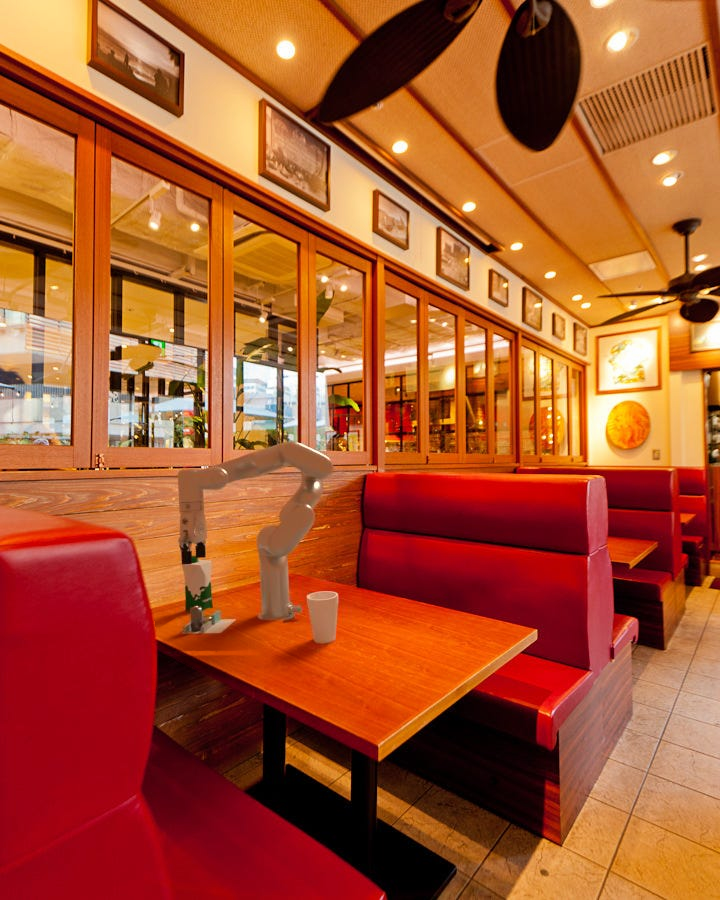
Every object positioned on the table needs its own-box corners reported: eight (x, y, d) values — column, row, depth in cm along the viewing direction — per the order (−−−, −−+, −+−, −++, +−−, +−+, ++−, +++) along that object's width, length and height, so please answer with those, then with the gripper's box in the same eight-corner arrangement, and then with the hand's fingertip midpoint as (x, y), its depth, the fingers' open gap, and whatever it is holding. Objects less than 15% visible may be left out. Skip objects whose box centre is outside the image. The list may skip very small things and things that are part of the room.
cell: (204, 627, 160) (203, 604, 160) (199, 631, 156) (198, 608, 156) (194, 627, 160) (193, 604, 160) (188, 631, 157) (187, 608, 157)
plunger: (215, 617, 167) (215, 615, 167) (210, 621, 163) (210, 619, 163) (204, 617, 168) (203, 615, 168) (198, 621, 164) (198, 619, 164)
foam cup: (346, 636, 149) (344, 593, 149) (329, 647, 141) (326, 601, 141) (320, 632, 154) (318, 590, 154) (302, 642, 146) (300, 598, 146)
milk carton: (196, 606, 189) (194, 554, 189) (216, 607, 186) (214, 554, 186) (181, 613, 180) (178, 559, 181) (202, 615, 178) (199, 559, 178)
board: (236, 622, 167) (235, 610, 167) (220, 636, 154) (220, 623, 154) (199, 623, 168) (198, 610, 169) (181, 637, 156) (180, 623, 156)
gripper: (190, 509, 150) (193, 566, 149) (213, 504, 167) (216, 554, 167) (166, 510, 151) (169, 567, 150) (192, 505, 168) (195, 555, 168)
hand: (194, 560), depth 158 cm, fingers open, 9 cm apart
